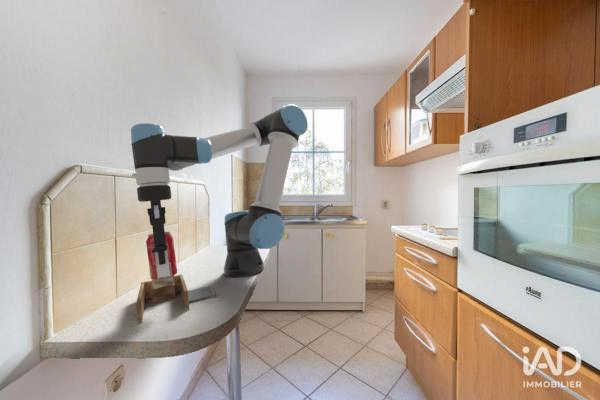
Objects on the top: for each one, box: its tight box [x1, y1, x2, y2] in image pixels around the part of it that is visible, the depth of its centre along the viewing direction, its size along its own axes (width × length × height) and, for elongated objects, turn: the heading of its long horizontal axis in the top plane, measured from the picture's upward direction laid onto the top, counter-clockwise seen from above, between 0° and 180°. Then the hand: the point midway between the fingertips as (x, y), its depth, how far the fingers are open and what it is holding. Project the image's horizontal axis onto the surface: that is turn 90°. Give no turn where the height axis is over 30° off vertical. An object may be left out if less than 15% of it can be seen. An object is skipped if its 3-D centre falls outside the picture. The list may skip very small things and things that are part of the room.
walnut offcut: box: [151, 281, 176, 304], centre depth 73 cm, size 6×4×4 cm, turn 120°
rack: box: [136, 273, 190, 324], centre depth 68 cm, size 11×18×5 cm, turn 30°
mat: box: [188, 285, 216, 304], centre depth 73 cm, size 7×9×1 cm
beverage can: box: [145, 231, 178, 281], centre depth 64 cm, size 6×6×12 cm
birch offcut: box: [151, 277, 173, 289], centre depth 73 cm, size 5×3×3 cm
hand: (163, 273), depth 64 cm, fingers closed on beverage can, 5 cm apart
